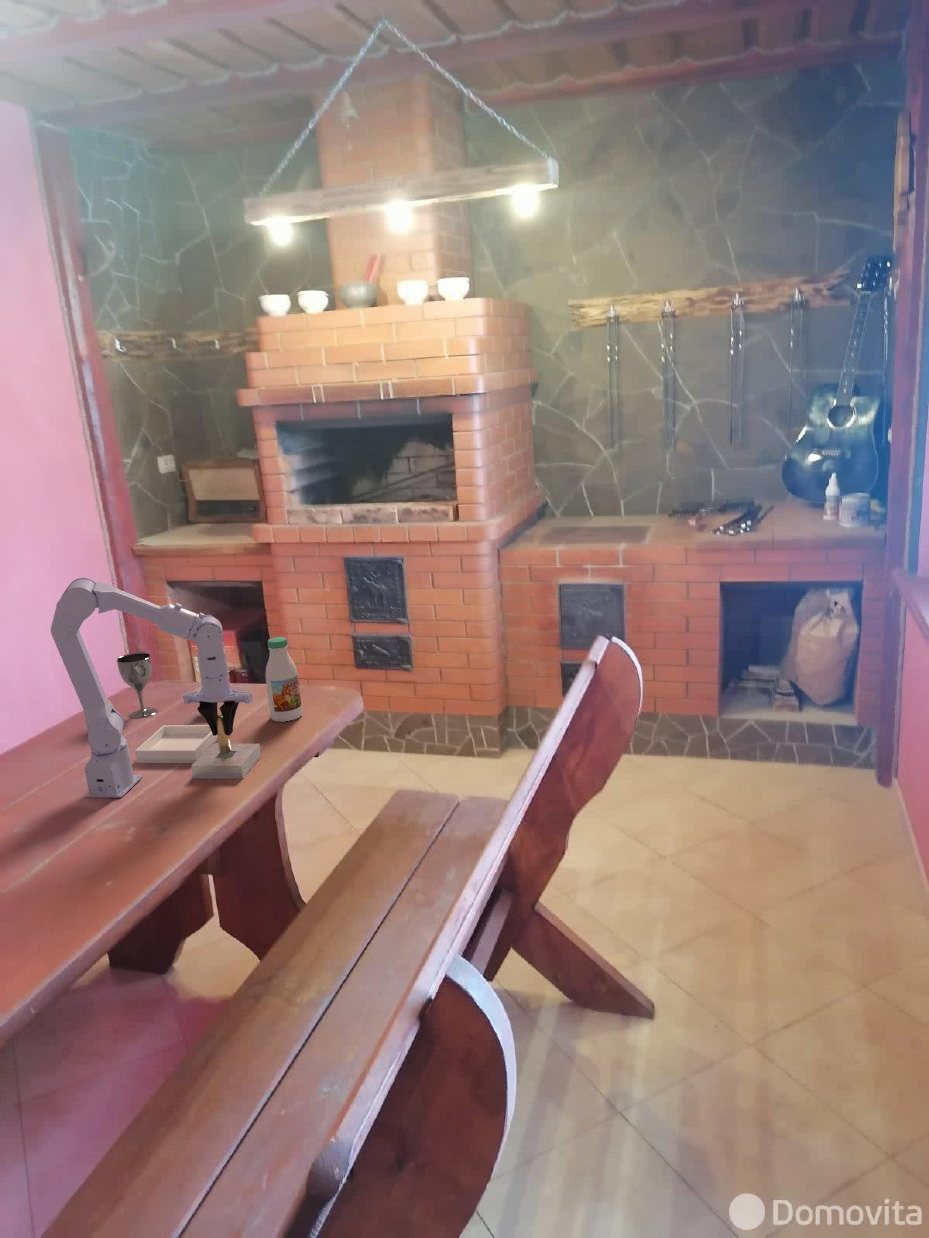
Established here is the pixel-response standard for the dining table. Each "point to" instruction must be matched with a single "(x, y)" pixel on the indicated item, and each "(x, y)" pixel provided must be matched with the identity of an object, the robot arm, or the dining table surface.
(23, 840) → the dining table surface
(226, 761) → the grey square socket block
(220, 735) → the pin
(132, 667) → the wine glass
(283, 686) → the milk bottle
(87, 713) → the robot arm
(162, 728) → the tray
